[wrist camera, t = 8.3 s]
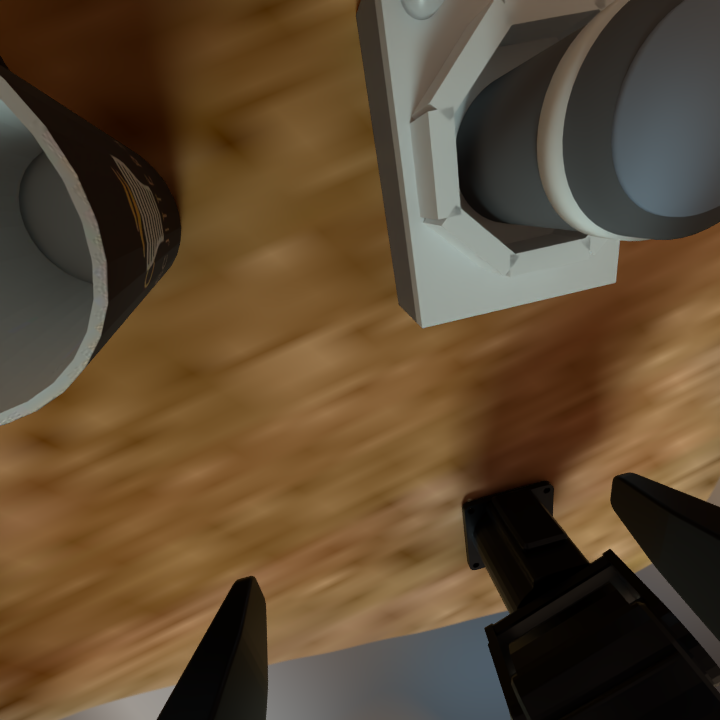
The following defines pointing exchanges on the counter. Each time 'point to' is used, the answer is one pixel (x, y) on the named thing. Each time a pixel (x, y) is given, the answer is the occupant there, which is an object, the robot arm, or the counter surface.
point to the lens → (605, 128)
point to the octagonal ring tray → (439, 155)
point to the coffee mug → (69, 243)
